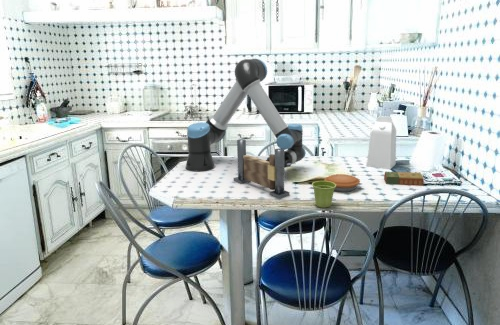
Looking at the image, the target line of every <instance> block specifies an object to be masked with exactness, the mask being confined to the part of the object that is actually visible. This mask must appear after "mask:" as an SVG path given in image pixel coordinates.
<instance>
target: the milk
mask: <svg viewBox="0 0 500 325" xmlns="http://www.w3.org/2000/svg"><path fill="white" fill-rule="evenodd" d="M369 135H370V136H369V142H368V151H367V152H368V153H367V160H366V167H368V168H376V169H381V170H382V169H384V170H391V169H392V168H393V167H395V165H396V162H397V161H396V159H397V156H396V155H397V128H396V126H395V124H394V122H393V119H392V116H385V115H384V116H382V115H378V116H377V118H376V120H375V122H374V124H373V126H372V128H371V130H370V134H369Z"/></svg>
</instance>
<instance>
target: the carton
mask: <svg viewBox="0 0 500 325" xmlns="http://www.w3.org/2000/svg"><path fill="white" fill-rule="evenodd" d="M383 180H384V182H385V184H386V185H399V186H401V185H402V186H418V187H419V186H420V187H423V186H424V176H423V175H422V173H421V172H412V171H411V172H409V171H405V172H404V171H403V172H402V171H384V176H383Z"/></svg>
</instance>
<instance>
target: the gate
mask: <svg viewBox="0 0 500 325" xmlns="http://www.w3.org/2000/svg"><path fill="white" fill-rule="evenodd" d="M268 156H269V157H268V158H269V162H268V161H265V160H266V159H261V158H258V157H255V156H252V155H248V154H246V155H244V156H243V158H244V179H246V180H249V181H251V182H252V183H254V184H257V185H259V186H262V187H265V188H268V189H269V190H271V191H274V190H275V181H273V180H270V179H268V165H272V166H275V153H273V154H269V155H268ZM251 182H250V183H251Z"/></svg>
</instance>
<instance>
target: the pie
mask: <svg viewBox="0 0 500 325" xmlns="http://www.w3.org/2000/svg"><path fill="white" fill-rule="evenodd" d="M323 181H329V182H333V183H335V184H336V187H335V190H334V191H335V192H340V193H344V192H346V193H348V192H353V191H354V190H355V189H356V188H357V186H358V185H359V184H360V182H361V180H360V179H359V178H358V177H356V176H353V175H350V174H343V173H340V174H339V173H337V174H332V175H331V174H330V175H329V176H327V177H325V178H324V180H323Z"/></svg>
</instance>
